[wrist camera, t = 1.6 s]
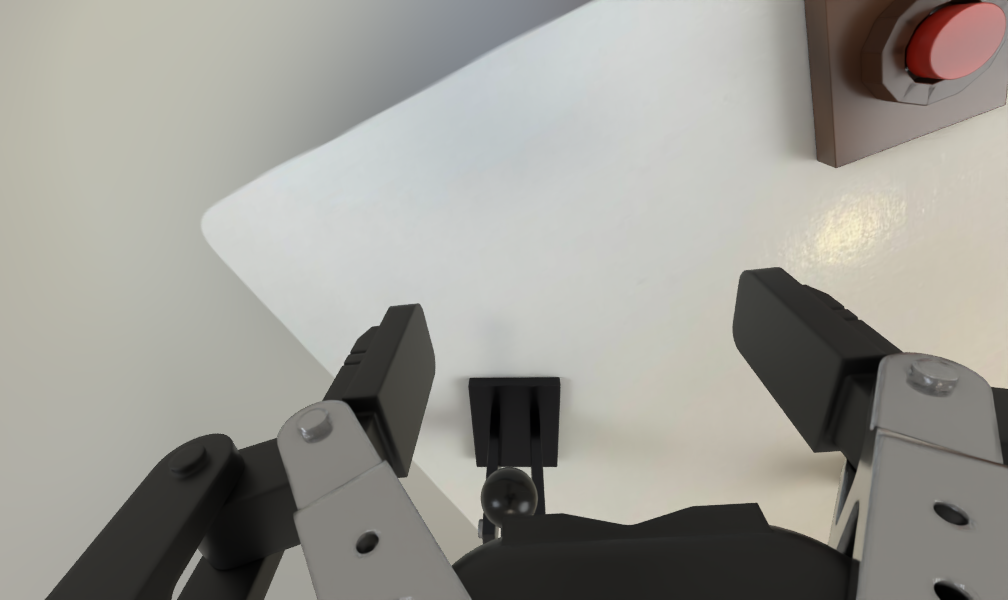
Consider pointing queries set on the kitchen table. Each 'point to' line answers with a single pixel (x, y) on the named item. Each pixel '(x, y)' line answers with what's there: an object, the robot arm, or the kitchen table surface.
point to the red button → (956, 40)
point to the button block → (886, 78)
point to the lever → (508, 495)
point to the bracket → (515, 430)
